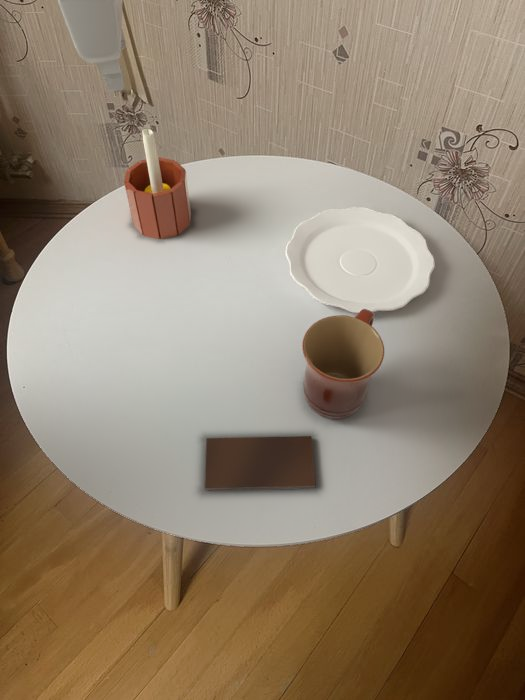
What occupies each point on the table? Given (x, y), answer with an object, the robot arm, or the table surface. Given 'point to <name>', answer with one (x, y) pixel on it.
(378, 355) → the mug
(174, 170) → the holder cup
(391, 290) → the plate
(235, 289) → the table surface
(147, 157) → the candle
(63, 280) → the table surface
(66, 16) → the robot arm
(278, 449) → the walnut mat
